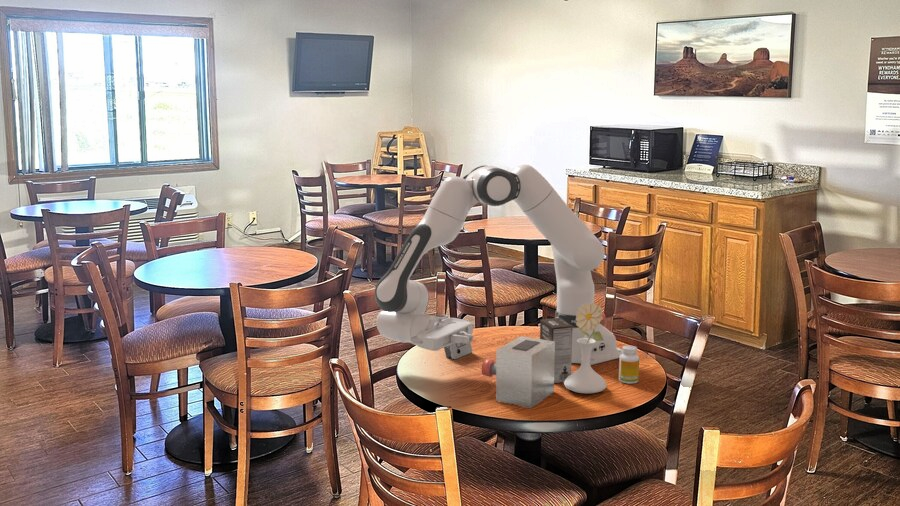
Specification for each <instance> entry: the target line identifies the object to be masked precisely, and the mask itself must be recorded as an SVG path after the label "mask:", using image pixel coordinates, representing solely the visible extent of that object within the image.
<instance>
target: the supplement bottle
mask: <svg viewBox="0 0 900 506" xmlns="http://www.w3.org/2000/svg"><path fill="white" fill-rule="evenodd" d="M621 350H622V352H623V353H622V354H621V355H620V358H618V359H619V360H618V361H619V363H618V365H619V366H618V368H619V369H618V381H619V382H621V383H623V384H626V385H627V384H628V385H631V384H632V385H633V384H637V383H638V382H639V377H640V375H639V374H640V356H639V355H638V354H637V353H638V347H637V346H636V345H635V346H634V345H630V344H628V345H623V346H622V348H621Z"/></svg>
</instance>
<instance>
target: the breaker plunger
mask: <svg viewBox="0 0 900 506" xmlns="http://www.w3.org/2000/svg"><path fill="white" fill-rule="evenodd" d="M481 374H482V376H486V377H490V378H491V377H493V376H496V361H495V360H493V359H487V358H486V359H485V360H483V362H482V364H481Z"/></svg>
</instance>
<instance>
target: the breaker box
mask: <svg viewBox="0 0 900 506" xmlns="http://www.w3.org/2000/svg"><path fill="white" fill-rule="evenodd" d="M554 362H555V341H548V340H542V339H540V338H536V337H535V338H534V337H528V336H523V335H520V336H519V337H516V338H515V339H513V340H511V341H509V342H508V343H506V344H504V345H502V346H500V347H498V348H497V349H496V361H495V363H496V375H495V379H496V380H495V387H496V389H495V392H496V393H495V397H496V398H495V402H497V401H500V402H499V403H502V402H504V403H503V404H507V403H509V404H508V405H511V404H514V405H513V406H516V405H520V406H519V407H521V406H523V407H522V408H527V409H532V408H534V407H535V406H537V405H538V404H539V403H541V402H542V401H543V399H544V400H545V399H547V396H548V397H549V396H551V395H552V394H553V393H554V391H555V383H554Z"/></svg>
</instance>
